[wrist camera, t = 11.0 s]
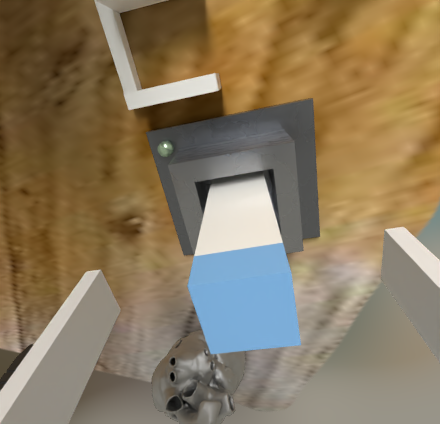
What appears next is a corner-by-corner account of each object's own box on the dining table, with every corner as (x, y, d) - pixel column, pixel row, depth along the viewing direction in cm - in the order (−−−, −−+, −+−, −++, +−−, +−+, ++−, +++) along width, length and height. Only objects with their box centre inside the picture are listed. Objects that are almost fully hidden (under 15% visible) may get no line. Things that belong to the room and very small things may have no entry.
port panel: (148, 131, 23) (126, 145, 18) (310, 97, 21) (331, 104, 17) (184, 251, 28) (175, 285, 23) (318, 233, 26) (335, 266, 22)
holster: (100, -1, 19) (69, -19, 15) (200, -28, 18) (191, -54, 14) (134, 106, 22) (114, 113, 18) (221, 87, 21) (218, 90, 17)
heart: (141, 334, 33) (119, 466, 23) (184, 286, 29) (181, 419, 19) (210, 356, 37) (218, 478, 27) (256, 316, 33) (285, 440, 23)
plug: (213, 172, 23) (187, 286, 11) (260, 163, 23) (291, 272, 10) (223, 214, 25) (210, 354, 13) (267, 206, 25) (300, 345, 12)
